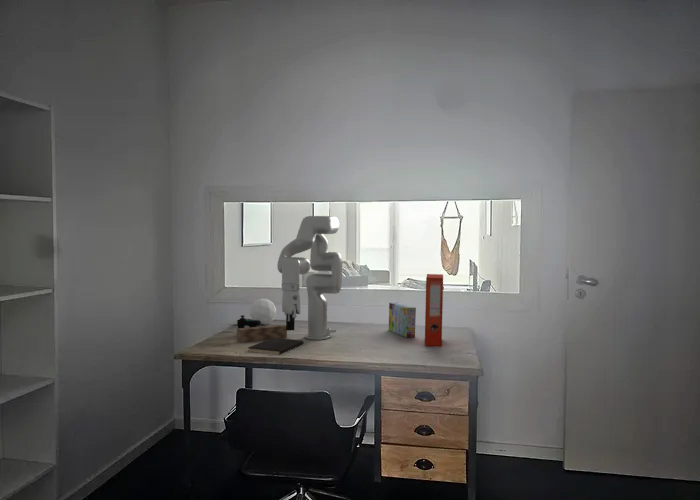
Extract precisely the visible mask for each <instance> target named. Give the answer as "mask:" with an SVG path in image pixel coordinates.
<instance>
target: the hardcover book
mask: <svg viewBox="0 0 700 500" xmlns="http://www.w3.org/2000/svg"><path fill="white" fill-rule="evenodd" d="M302 344H303V345H304V340H300V339H294V338H293V339H289V338H272V339H269V340H263V341H260V342H259V343H256V344H254V345H251V346H249V347H248V348H247V349H248V352H250V351H253V352H252V353H260V352H263V353H262V354H269V353H271V354H272V355H278V354H279V356H280V355H282V354H284V352H285V353H287V352H289V351H291V350H290V349H292V350H294V349H296V348H298V347H300V345H301V346H302ZM295 347H296V348H295ZM293 348H294V349H293ZM288 350H289V351H288ZM286 351H287V352H286ZM271 354H270V355H271Z"/></svg>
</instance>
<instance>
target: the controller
mask: <svg viewBox="0 0 700 500" xmlns="http://www.w3.org/2000/svg"><path fill="white" fill-rule="evenodd" d="M236 324H237V325H236V326H237V329H239V328H246V326H247V327H248V328H251V327H260V326H261V325H262V324H261V322H260V320H252V319H250V318H248V319H247V318H245V315H240V318H239V319H237V320H236Z"/></svg>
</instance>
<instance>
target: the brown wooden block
mask: <svg viewBox="0 0 700 500" xmlns="http://www.w3.org/2000/svg"><path fill="white" fill-rule="evenodd" d="M272 338H282V339H288V330H286V324H278V325H277V324H276V325H275V324H274V325H263V326H257V327H251V328H250V327H244V328H239V329H238V328H236V341H237V343H239V344H240V343H249V342H250V343H251V341H252V342H262V341H266V340H269V339H272ZM261 340H262V341H261Z"/></svg>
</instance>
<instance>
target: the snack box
mask: <svg viewBox="0 0 700 500" xmlns="http://www.w3.org/2000/svg"><path fill="white" fill-rule="evenodd" d="M388 304H389V305H388V331H390V332H393V333H395V334H398V335H400V336H402V337H404V338H415V337H416V318H417V317H416V313H417V312H416V311H417V308H416V307H415V306H411V305H408V304H405V303H402V302H398V301H397V302H396V301H395V302H394V301H392V302H391V301H390V302H389V303H388Z"/></svg>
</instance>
